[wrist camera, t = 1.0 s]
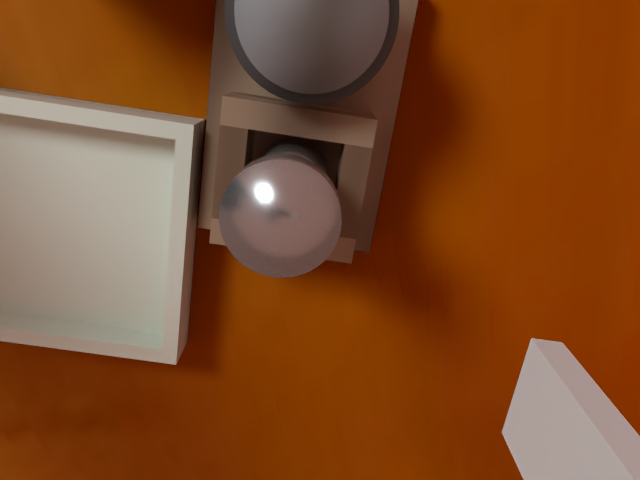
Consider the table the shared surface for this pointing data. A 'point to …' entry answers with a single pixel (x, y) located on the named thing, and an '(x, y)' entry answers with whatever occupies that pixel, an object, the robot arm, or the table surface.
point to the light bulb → (282, 211)
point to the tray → (97, 226)
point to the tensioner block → (307, 97)
